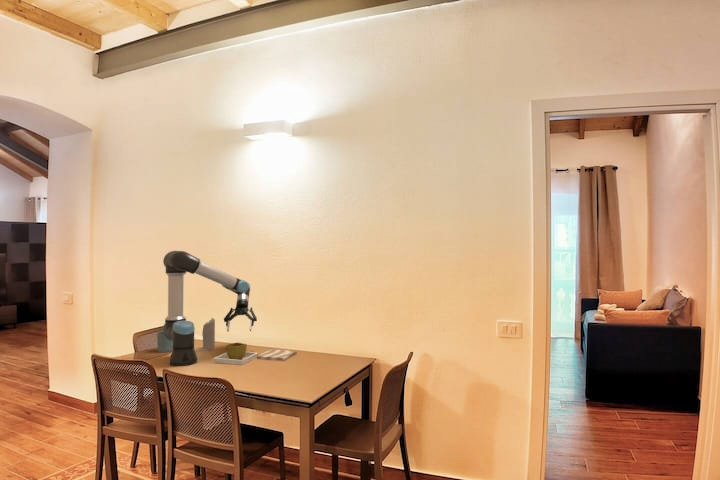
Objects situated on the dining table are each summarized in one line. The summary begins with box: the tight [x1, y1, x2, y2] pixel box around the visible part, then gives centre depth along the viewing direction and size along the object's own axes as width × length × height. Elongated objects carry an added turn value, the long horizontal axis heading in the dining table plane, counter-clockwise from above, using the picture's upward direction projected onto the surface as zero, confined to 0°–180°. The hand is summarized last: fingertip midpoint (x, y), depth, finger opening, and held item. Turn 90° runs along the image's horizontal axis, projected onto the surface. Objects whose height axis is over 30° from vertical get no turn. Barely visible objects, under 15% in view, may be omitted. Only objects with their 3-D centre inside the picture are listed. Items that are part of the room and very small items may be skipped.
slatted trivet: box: [256, 348, 298, 361], centre depth 272 cm, size 18×18×2 cm
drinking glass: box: [156, 330, 173, 353], centre depth 286 cm, size 10×10×12 cm
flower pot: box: [225, 342, 247, 360], centre depth 264 cm, size 9×9×9 cm
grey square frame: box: [212, 351, 259, 366], centre depth 264 cm, size 19×19×2 cm
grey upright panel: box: [194, 317, 216, 352], centre depth 289 cm, size 7×14×20 cm, turn 107°
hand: (239, 330), depth 274 cm, fingers open, 13 cm apart
